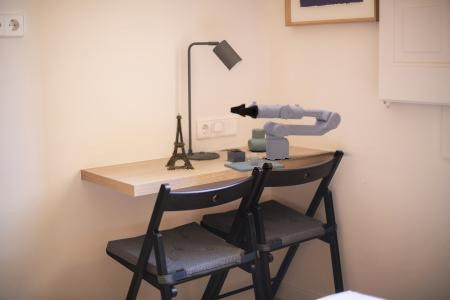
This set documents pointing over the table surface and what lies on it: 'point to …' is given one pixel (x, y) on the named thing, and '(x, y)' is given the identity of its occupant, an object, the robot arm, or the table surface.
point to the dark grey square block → (236, 156)
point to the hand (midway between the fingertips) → (235, 110)
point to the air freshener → (257, 140)
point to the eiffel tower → (177, 144)
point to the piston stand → (251, 164)
